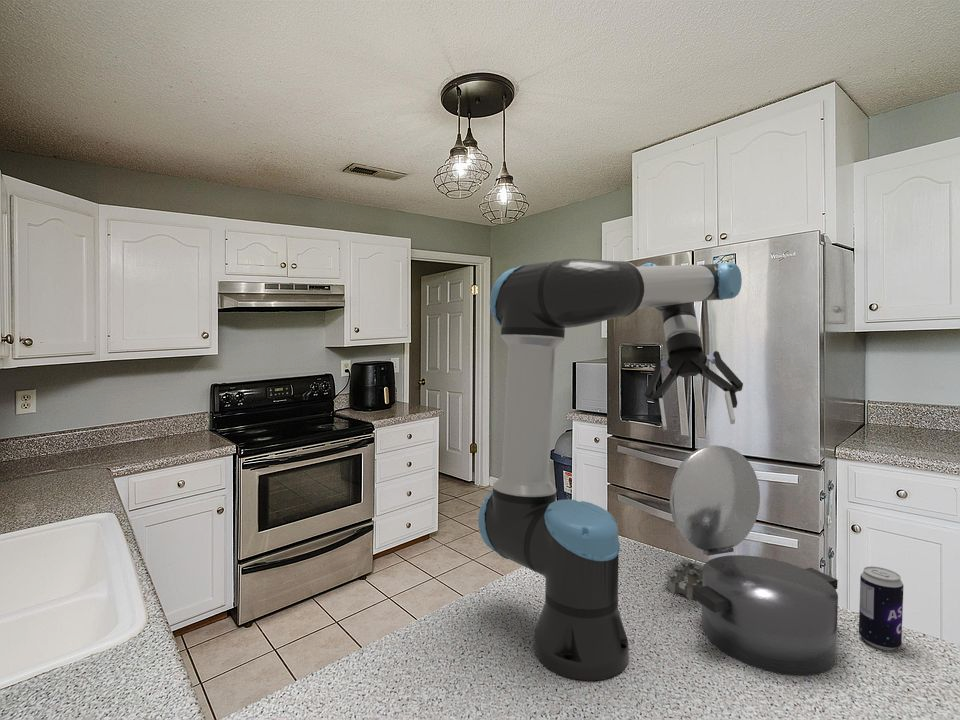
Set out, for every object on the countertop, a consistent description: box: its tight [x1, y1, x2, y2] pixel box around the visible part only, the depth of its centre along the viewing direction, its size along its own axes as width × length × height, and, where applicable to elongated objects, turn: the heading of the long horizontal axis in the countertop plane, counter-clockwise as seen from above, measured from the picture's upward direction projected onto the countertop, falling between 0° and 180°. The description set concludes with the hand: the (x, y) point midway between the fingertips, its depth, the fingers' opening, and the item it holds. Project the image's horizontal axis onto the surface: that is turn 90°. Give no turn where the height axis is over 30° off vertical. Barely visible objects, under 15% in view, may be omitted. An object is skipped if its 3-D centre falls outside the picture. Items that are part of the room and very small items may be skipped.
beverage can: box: [858, 566, 904, 651], centre depth 86 cm, size 6×6×12 cm
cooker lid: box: [669, 444, 761, 556], centre depth 99 cm, size 20×20×2 cm
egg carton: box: [664, 558, 703, 600], centre depth 106 cm, size 11×8×4 cm
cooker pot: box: [693, 554, 839, 676], centre depth 88 cm, size 26×20×10 cm
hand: (698, 425), depth 111 cm, fingers open, 13 cm apart
